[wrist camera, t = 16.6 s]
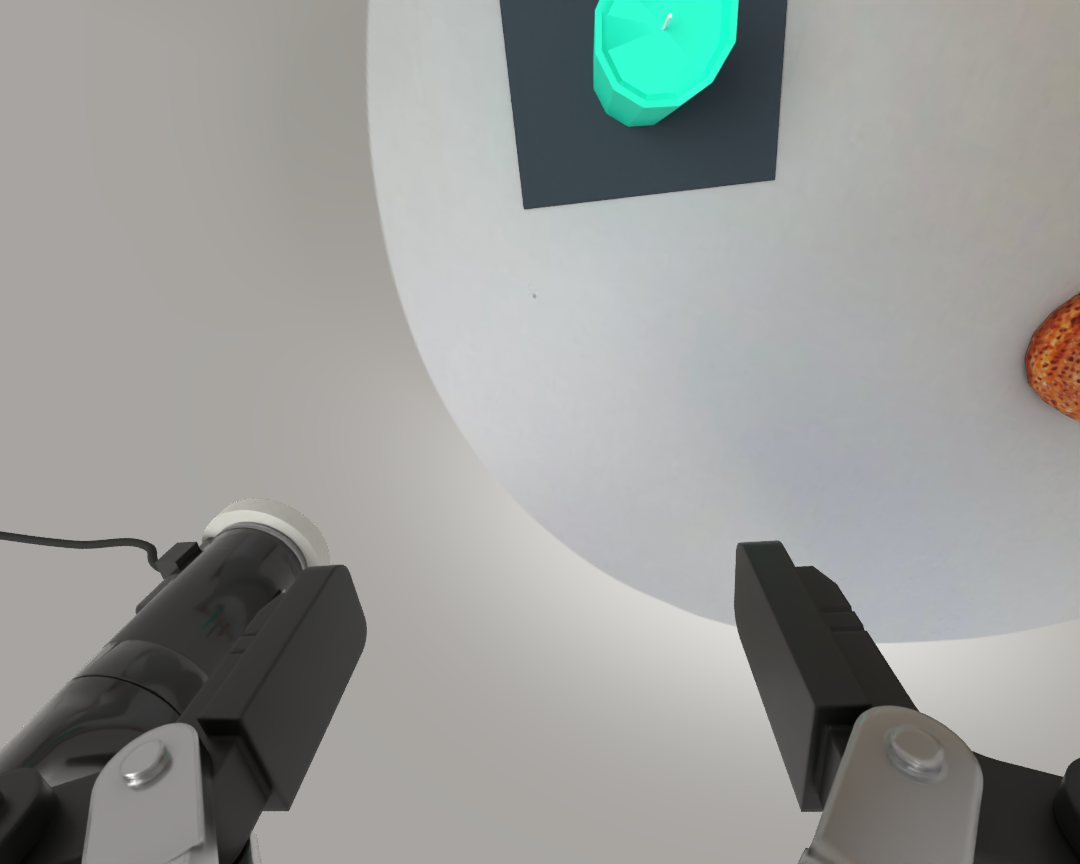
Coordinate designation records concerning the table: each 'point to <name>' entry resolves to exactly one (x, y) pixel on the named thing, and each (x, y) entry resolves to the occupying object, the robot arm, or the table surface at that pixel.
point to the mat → (639, 151)
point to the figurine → (1057, 359)
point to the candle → (658, 54)
